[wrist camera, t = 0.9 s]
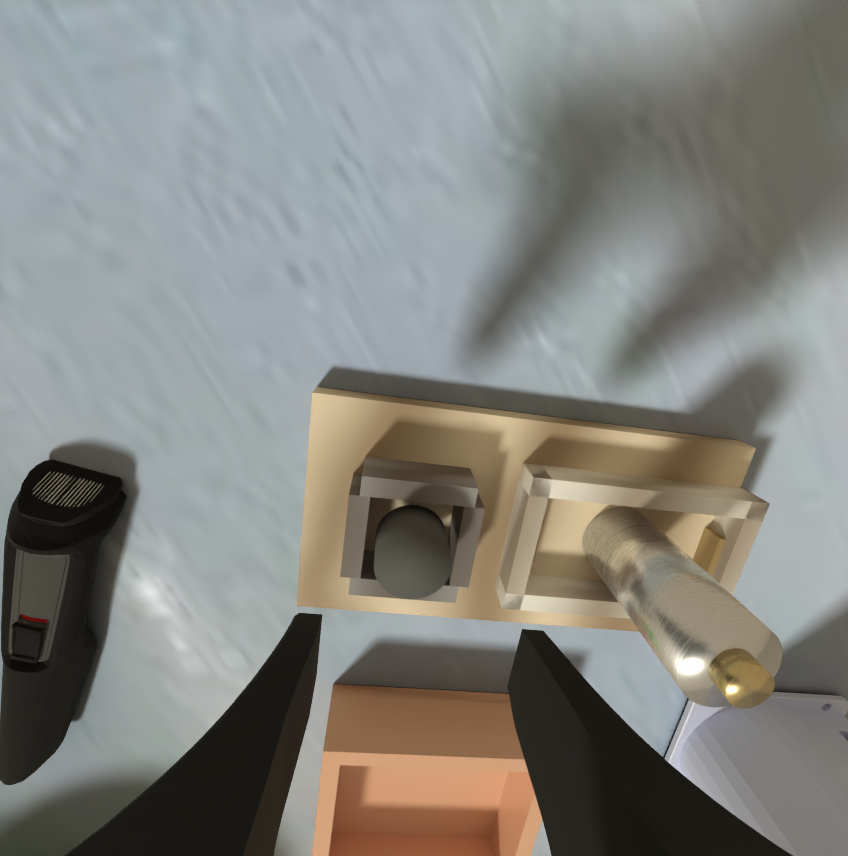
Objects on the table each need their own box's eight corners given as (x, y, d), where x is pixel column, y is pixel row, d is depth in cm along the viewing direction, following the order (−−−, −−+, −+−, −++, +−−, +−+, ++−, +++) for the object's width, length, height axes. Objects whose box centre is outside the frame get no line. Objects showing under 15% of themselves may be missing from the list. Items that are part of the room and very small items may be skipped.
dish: (537, 695, 24) (561, 761, 21) (498, 833, 27) (513, 909, 24) (333, 683, 23) (323, 751, 20) (317, 829, 26) (306, 908, 23)
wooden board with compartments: (741, 440, 20) (798, 466, 17) (673, 620, 23) (712, 667, 20) (316, 387, 18) (302, 405, 15) (300, 591, 21) (286, 639, 18)
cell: (659, 510, 20) (824, 648, 12) (639, 570, 21) (780, 734, 13) (592, 503, 20) (718, 640, 12) (574, 565, 21) (680, 729, 13)
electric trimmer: (11, 717, 23) (-45, 783, 20) (43, 452, 19) (-23, 485, 16) (89, 730, 24) (46, 796, 21) (137, 478, 19) (91, 514, 16)
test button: (450, 508, 18) (458, 535, 16) (439, 569, 18) (445, 601, 16) (380, 501, 17) (378, 528, 15) (372, 563, 18) (369, 595, 16)
